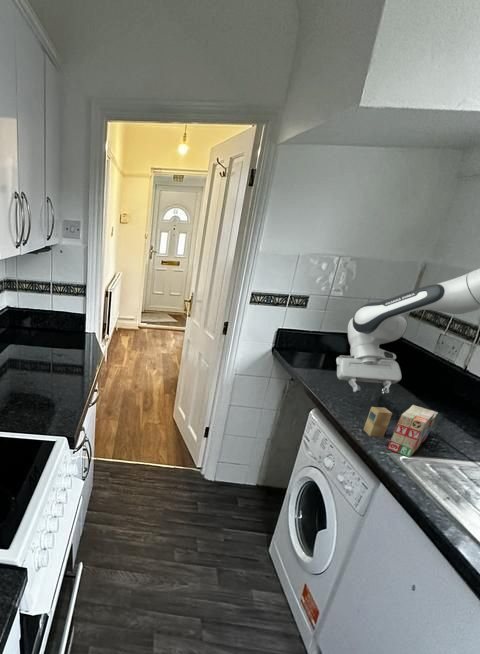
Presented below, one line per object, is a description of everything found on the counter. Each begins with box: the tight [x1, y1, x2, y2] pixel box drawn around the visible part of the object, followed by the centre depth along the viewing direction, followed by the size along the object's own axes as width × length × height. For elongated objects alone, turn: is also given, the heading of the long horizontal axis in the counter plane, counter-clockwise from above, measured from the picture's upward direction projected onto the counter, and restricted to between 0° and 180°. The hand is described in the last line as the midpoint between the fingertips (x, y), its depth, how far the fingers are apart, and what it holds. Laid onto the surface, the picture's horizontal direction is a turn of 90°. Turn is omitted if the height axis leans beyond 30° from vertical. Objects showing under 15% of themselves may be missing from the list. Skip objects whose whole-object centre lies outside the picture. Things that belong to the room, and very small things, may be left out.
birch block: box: [362, 406, 393, 438], centre depth 138 cm, size 4×4×9 cm
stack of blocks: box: [386, 404, 439, 458], centre depth 132 cm, size 21×6×12 cm, turn 131°
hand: (371, 392), depth 142 cm, fingers open, 8 cm apart
